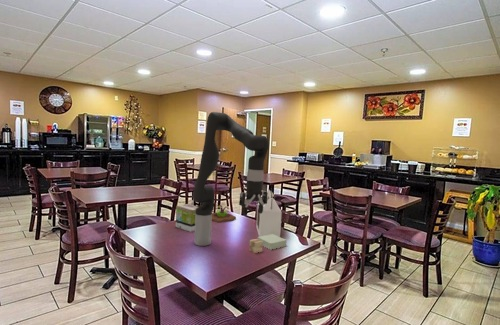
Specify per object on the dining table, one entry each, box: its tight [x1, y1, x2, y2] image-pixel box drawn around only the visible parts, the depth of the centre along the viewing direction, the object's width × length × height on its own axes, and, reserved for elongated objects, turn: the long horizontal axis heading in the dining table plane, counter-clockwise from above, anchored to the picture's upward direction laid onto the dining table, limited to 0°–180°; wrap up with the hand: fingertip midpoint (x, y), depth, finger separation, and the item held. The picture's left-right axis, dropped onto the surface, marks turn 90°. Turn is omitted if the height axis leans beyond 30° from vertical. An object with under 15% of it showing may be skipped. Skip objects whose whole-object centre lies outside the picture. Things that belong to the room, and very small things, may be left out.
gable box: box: [255, 188, 283, 237], centre depth 190 cm, size 22×13×28 cm, turn 3°
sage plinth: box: [256, 234, 287, 251], centre depth 168 cm, size 12×12×4 cm
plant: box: [212, 204, 237, 223], centre depth 218 cm, size 20×20×11 cm
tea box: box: [175, 203, 199, 233], centre depth 191 cm, size 15×10×15 cm, turn 55°
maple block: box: [248, 238, 263, 254], centre depth 158 cm, size 5×5×6 cm
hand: (252, 214), depth 133 cm, fingers open, 8 cm apart
